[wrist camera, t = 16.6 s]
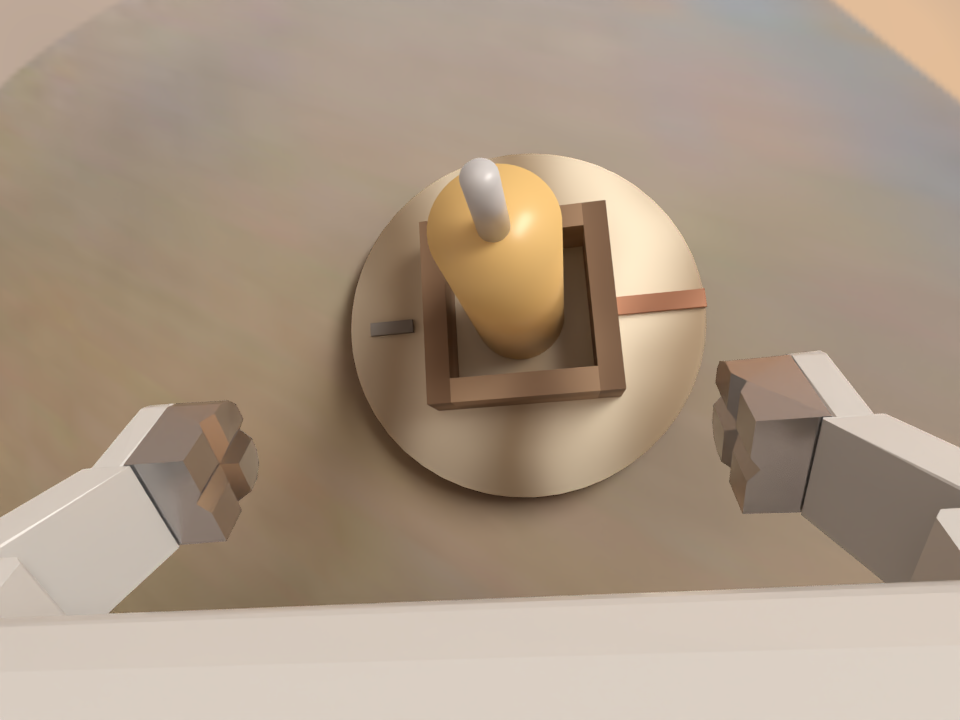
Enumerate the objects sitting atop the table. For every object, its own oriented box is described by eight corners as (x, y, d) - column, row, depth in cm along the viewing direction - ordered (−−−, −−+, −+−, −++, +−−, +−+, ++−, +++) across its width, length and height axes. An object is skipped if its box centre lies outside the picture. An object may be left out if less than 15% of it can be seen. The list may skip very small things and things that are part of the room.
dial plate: (363, 506, 28) (334, 510, 25) (356, 187, 31) (329, 150, 28) (723, 485, 26) (747, 485, 23) (676, 146, 29) (691, 101, 26)
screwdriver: (478, 363, 27) (402, 262, 15) (473, 278, 28) (396, 114, 16) (568, 355, 27) (568, 243, 14) (560, 269, 28) (553, 92, 15)
